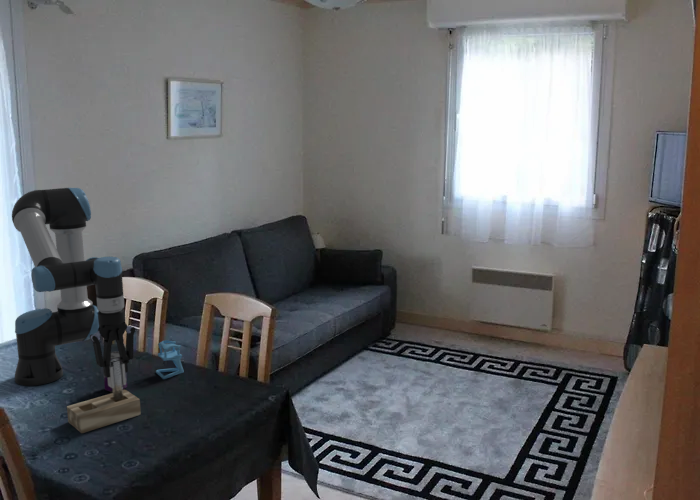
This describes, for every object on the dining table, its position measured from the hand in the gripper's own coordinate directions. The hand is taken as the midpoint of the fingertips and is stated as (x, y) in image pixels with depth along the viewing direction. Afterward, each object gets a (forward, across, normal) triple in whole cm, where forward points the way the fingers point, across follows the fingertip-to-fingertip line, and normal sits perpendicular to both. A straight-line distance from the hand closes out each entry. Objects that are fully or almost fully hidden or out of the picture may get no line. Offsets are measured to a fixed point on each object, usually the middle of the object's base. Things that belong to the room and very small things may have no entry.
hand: (117, 384), depth 205 cm
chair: (+10, +28, +19) cm, 35 cm away
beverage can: (+10, +8, +19) cm, 23 cm away
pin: (+4, 0, 0) cm, 4 cm away
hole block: (+9, -4, 0) cm, 10 cm away
